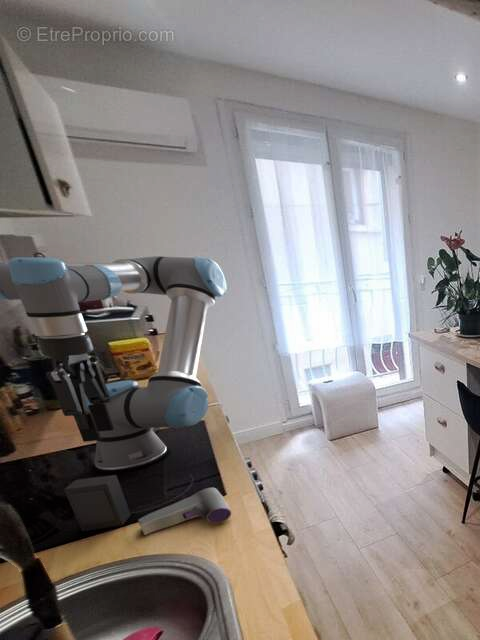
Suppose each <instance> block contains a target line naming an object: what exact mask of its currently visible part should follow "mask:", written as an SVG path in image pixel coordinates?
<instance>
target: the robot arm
mask: <svg viewBox="0 0 480 640" xmlns="http://www.w3.org/2000/svg"><path fill="white" fill-rule="evenodd" d="M121 292H124V293H127V294H149V295H160V296H167V297H168V298H169V299H170V300H171V301H170V307H169V311H168V317H167V321H166V322H167V323H166V327H165V331H164V337H163V343H162V347H161V348H162V349H161V353H160V357H159V363H158V368H157V372H156V373H155V374H153V375H151V376H149V377H148V382H147V385H146V386H139V385H140V384H139V383H138V382H137V381H136V380H133V379H129V380H126V379H125V380H119V381H114V382H109V383H106V382H105V378H104V375H103V373H102V369H101V367H100V360H99V357H98V356H89V355H88V354H89V353H92V352H93V351H94V345H93V343H92V340H91V336H90V335H89V334H87V332H88V327H87V325H86V322H85V319H84V317H83V314H82V311H81V308H80V305H79V303H85V302H93V301H106V300H107V299H112V298H114V297H117V296H118V295H119V294H120V293H121ZM226 292H227V282H226V278H225V275H224V273H223V270H222V269H221V267H220V265H219V264H218V263H217V262H216V261H214V260H213V259H211V258H206V257H205V258H204V257H198V256H195V257H185V256H184V257H182V256H158V255H157V256H155V255H154V256H146V257H136V258H128V259H127V258H121V259H120V258H119V259H117V260H116V259H115V260H114V261H112V262H93V263H90V262H87V263H86V262H85V263H84V262H82V263H81V262H79V263H77V262H75V263H64V261H63V260H62V259H60V258H58V257H12V258H10V259H9V260H8V261H7V263H2V262H1V263H0V300H9V301H13V300H14V301H15V300H16V301H17V300H20V301H21V303H22V306H23V308H24V311H25V314H26V316H27V318H28V320H27V323H28V324H29V325H30V326H31V329H32V331H33V334H34V336H36V337H38V338H37V339H36V342H37V343H36V344H37V345H38V348H39V351H40V354H41V355H42V356H43V357H48V358H52V361H53V368H54V370H53V371H46V372H45V376H46V378H47V379H48V380H49V382H50V383H51V385H52V388H53V391H54V393H55V396H56V398H57V401H58V404H59V406H60V409H61V411H62V414H63V416H65V417H73V419H74V421H75V423H76V426H77V428H78V431H79V434H80V436H81V439H82V442H83V443H86V442H95V441H96V446H95V453H94V454H95V455H94V465H95V468H96V471H98V472H100V473H101V472H102V473H120V472H122V473H123V472H128V471H133V470H137V469H140V468H144V467H147V466H150V465H153V464H154V463H156V462H159V461H160V460H162V459H163V458H165V457H166V455H167V454H168V449H167V446H166V445H165V443H164V442H163V440H161V439H160V437H159V436H158V435H157V434H156V432H157V431H158V430H159V429H160V428H175V429H177V428H183V427H184V428H185V427H191V426H194V425H195V426H196V425H197V424H198V423H199V422H201V421H202V420H203V419H204V418H205V416H206V414H207V412H208V409H209V402H210V400H209V397H208V396H209V395H208V392H207V391H206V389H204V388H203V387H202V383H201V382H200V380H198V378H197V375H198V374H197V373H198V367H199V361H200V356H201V351H202V350H201V349H202V343H203V337H204V332H205V327H206V320H207V315H208V309H209V308H211V307H214V305H215V303H216V298H220V297H223V296H224V295H225V294H226Z"/></svg>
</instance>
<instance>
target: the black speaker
mask: <svg viewBox="0 0 480 640" xmlns="http://www.w3.org/2000/svg"><path fill="white" fill-rule="evenodd" d="M63 490H64V493H65V495H66V498H67V500H68V502H69V504H70V507H71V509H72V512H73V514H74V517H75V519H76V521H77V523H78V525H79V528H80V531H81V532H82V533H83V532H90V531H96V530H101V529H108V528H115V527H119V526H120V527H121V526H123V525H124V524H125V523H126V522H127V521H128V519H129V518H130V517H131V516H132V514H131V511H130V509H129V506H128V503H127V500H126V498H125V494H124V493H123V492H124V491H123V489H122V487H121V484H120V481H119V479H118V475H117V474H112V475H104V476H96V477H88V478H80V479H79V478H78V479H75V480H73V481H72V482H71V483H70V484H68V485H67V487H65V488H64V489H63Z"/></svg>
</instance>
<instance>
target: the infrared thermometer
mask: <svg viewBox="0 0 480 640" xmlns="http://www.w3.org/2000/svg"><path fill="white" fill-rule="evenodd" d="M231 516H232V510H231V508H230V507H229V505H228V503H227V502H226V500H225V498H224V496H223V495H222V494H221V492H220V491H219V490H218V489H217V488H215V487H206V488H203V489H201V490H198V491H197V492H195V493H194V494H192V495H191V496H189V497H186V498H184V499H181V500H179V501H177V502H175V503H172V504H170V505H168V506H165V507H162V508H160V509H158V510H156V511H153V512H150V513H147V515H144V516H142V517H140V518H138V519H137V522H138V524H139V526H140V528H141V530H142V532H143V534H144V536H147V535H148V534H151V533H153V532H156V531H160V530H161V529H166V528H168V527H172V526H175V525H178V524H180V523H183V522H185V521H189V520H191V519H196V518H198V517H200V518H203V519H204V520H205V521H207V522H209V523H214V524H217V523H222V522H225V521H227V520H228V519H229V518H230V517H231Z"/></svg>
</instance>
